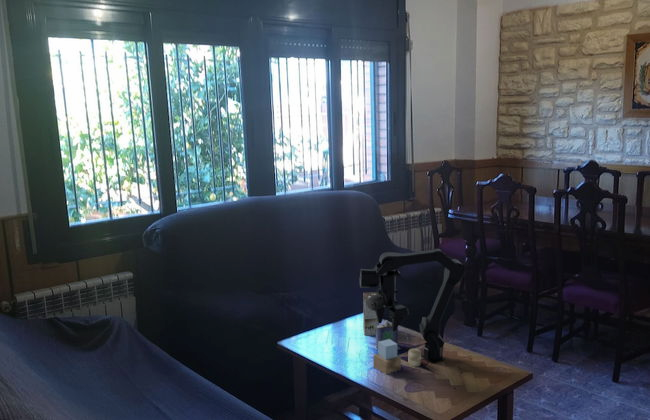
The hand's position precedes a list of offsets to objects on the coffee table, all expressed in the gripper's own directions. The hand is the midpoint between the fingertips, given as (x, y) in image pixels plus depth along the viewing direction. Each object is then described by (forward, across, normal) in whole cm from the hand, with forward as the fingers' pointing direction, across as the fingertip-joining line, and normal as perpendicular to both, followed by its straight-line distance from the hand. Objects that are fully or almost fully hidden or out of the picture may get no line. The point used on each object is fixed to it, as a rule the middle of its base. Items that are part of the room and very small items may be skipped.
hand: (387, 326), depth 205 cm
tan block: (+13, +6, -4) cm, 15 cm away
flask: (+13, -10, +7) cm, 18 cm away
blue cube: (+8, +6, -4) cm, 11 cm away
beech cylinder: (+13, +8, +7) cm, 17 cm away
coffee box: (+13, -26, +10) cm, 31 cm away
